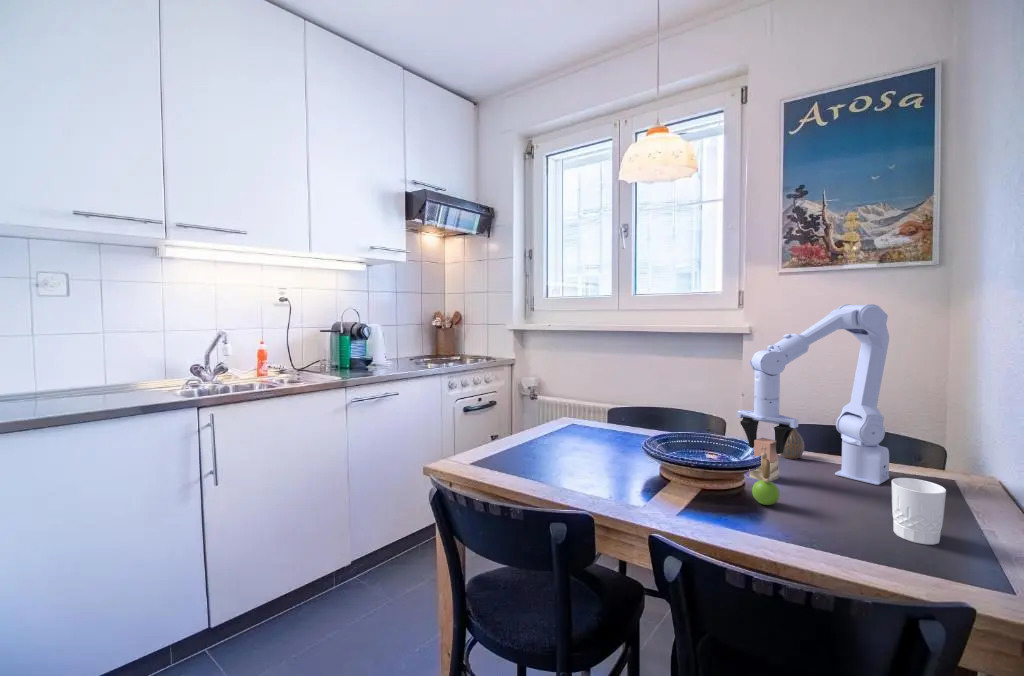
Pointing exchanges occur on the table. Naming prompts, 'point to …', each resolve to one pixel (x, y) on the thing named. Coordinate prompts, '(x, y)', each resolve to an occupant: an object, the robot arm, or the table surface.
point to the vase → (793, 446)
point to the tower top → (771, 467)
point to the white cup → (918, 510)
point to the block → (769, 451)
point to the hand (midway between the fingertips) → (765, 450)
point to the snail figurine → (765, 484)
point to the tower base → (759, 475)
